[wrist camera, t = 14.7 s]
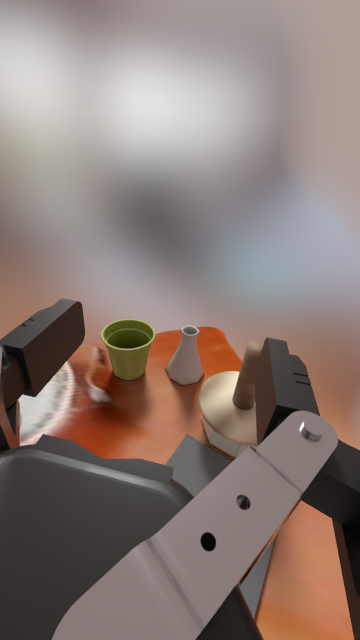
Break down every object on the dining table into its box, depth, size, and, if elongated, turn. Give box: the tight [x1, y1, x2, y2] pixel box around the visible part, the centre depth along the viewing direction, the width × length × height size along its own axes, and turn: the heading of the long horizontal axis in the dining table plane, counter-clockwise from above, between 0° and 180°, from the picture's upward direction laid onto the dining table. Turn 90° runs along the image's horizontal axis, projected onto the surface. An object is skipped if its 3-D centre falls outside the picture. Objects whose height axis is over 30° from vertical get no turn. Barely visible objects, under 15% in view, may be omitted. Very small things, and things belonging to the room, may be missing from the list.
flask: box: [165, 326, 204, 385], centre depth 51 cm, size 7×7×10 cm
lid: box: [199, 341, 264, 446], centre depth 38 cm, size 13×13×11 cm
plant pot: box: [101, 319, 155, 380], centre depth 51 cm, size 9×9×9 cm
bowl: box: [202, 416, 257, 458], centre depth 43 cm, size 10×10×5 cm
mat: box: [166, 434, 275, 618], centre depth 33 cm, size 15×14×1 cm
